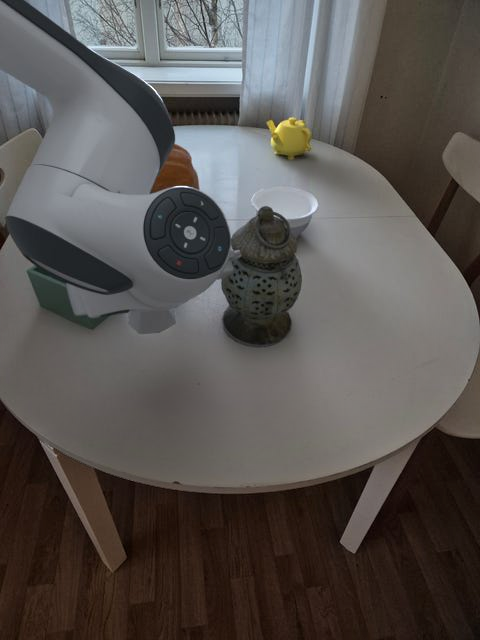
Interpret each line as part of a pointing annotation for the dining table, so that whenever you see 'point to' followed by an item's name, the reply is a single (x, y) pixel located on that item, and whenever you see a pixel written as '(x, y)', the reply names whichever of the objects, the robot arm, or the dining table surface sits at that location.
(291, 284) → the lantern
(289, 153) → the teapot
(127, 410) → the dining table surface
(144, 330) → the flask
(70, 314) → the chest
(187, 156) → the bread
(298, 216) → the bowl
